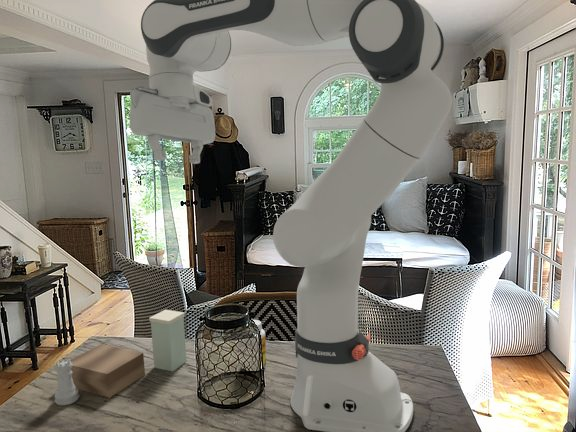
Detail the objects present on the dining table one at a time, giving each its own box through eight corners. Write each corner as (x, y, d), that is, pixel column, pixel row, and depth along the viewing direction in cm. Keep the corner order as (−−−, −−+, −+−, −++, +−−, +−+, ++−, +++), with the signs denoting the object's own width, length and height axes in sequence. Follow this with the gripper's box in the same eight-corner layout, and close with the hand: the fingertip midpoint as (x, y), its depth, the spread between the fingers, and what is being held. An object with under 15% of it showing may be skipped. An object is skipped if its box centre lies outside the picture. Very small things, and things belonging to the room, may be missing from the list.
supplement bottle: (252, 375, 99) (250, 329, 98) (235, 367, 103) (233, 323, 102) (271, 366, 103) (270, 322, 102) (255, 358, 107) (253, 316, 105)
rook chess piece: (49, 405, 90) (45, 366, 88) (63, 393, 94) (59, 356, 93) (71, 407, 89) (67, 367, 88) (84, 394, 93) (80, 356, 92)
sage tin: (187, 361, 107) (184, 312, 105) (172, 372, 102) (168, 321, 100) (168, 357, 109) (165, 309, 107) (152, 367, 104) (149, 317, 102)
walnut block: (144, 374, 101) (143, 352, 100) (109, 397, 92) (107, 374, 91) (103, 364, 106) (101, 343, 105) (66, 385, 97) (63, 363, 96)
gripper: (141, 78, 85) (147, 154, 85) (217, 99, 102) (223, 162, 102) (119, 87, 89) (125, 160, 88) (196, 106, 106) (201, 167, 105)
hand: (178, 161), depth 95 cm, fingers open, 8 cm apart
